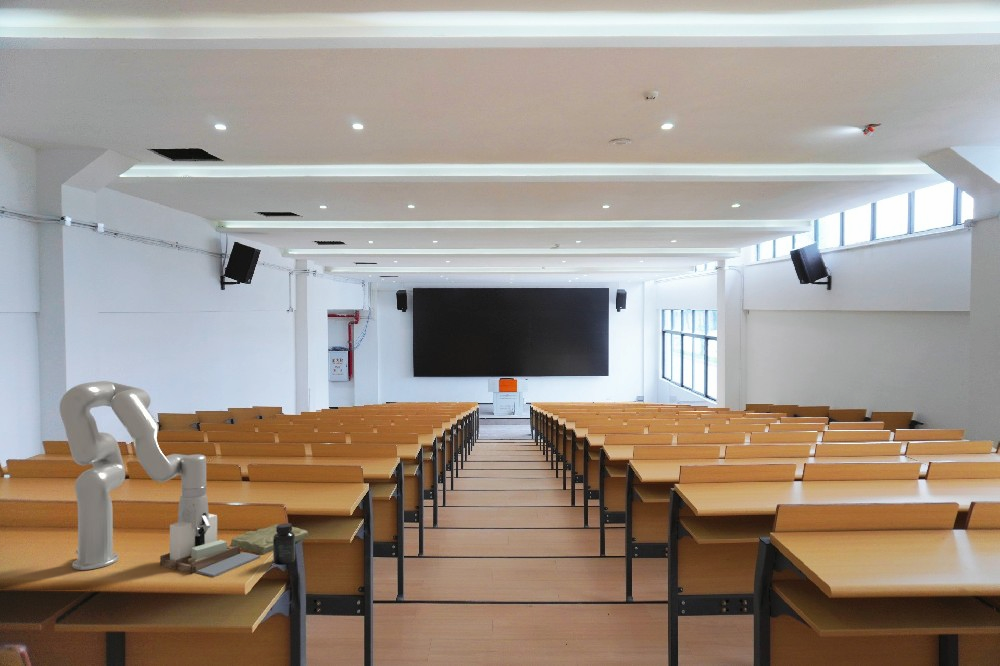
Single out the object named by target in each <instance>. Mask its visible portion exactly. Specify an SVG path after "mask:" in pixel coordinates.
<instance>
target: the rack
mask: <svg viewBox="0 0 1000 666" xmlns="http://www.w3.org/2000/svg"><path fill="white" fill-rule="evenodd" d="M240 553H241V549H240V546H239V545H238V546H235V547H233V546H231V545H227V550H225V551H222V552H220V553H217V554H214V555H212V556H209V557H206V558H204V559H201V560H199V561H196V562H193V563H191V565H189V564H188V559H190V558H192V557H191V555H189V556H186V557H183V558H180V559H178V560H176V561H173V560H170V552H168V553H165V554H162V555H160V556H159V558H160V559H159V560H160V561H159V562H160V563H159V564H160V566H162V567H166V568H170V569H173V570H177V571H182V572H186V573H189V574H195V573H197V570H200V569H202V568H205V567H207V566H210V565H212V564H215V563H218V562H220V561H223V560H225V559H228V558H230V557H233V556H235V555H238V554H240Z"/></svg>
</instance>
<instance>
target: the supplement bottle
mask: <svg viewBox="0 0 1000 666" xmlns="http://www.w3.org/2000/svg"><path fill="white" fill-rule="evenodd" d="M292 527H293V524H292V523H290V522H289V523H288V522H287V523H286V522H285V523H284V522H283V523H278V525H277V527H276V532H277V533H276V534H275V535H274V537H273V551H272V552H273V555H272V559H273V563H274V564H275V565H278V566H285V565H289V564H292V563H293V562H295V560H296V542H295V534H294V533H293V532H292Z"/></svg>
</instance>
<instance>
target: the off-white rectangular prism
mask: <svg viewBox="0 0 1000 666" xmlns="http://www.w3.org/2000/svg"><path fill="white" fill-rule="evenodd" d="M208 522H209V524H210V528H209V529H208V530H207V531H206V534H205V544H207V543H211V542H214V541H218V515H217V514H213V513H209V520H208ZM200 525H202V523H201V524H200ZM200 530H201V527H200V528H199V531H200ZM195 536H197V535H196V530H195V528H192V523H187V522H183V521H181V522H178V521H177V522H174V523H172V524H169V553H170V560H173V561H176V560H178V559H180V558H183V557H186V556H189V555H191V548H193V547H195Z"/></svg>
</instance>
